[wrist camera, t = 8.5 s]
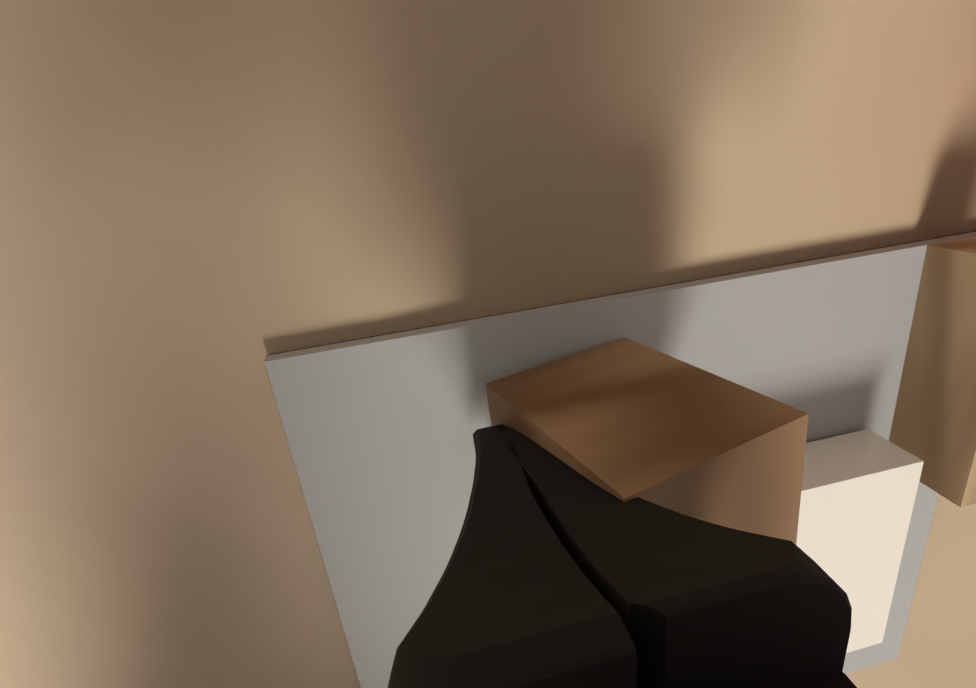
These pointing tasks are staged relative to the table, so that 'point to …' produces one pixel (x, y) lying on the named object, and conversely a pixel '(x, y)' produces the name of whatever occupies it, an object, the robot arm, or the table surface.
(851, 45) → the table surface
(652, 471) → the block
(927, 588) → the table surface
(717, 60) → the table surface
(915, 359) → the rail
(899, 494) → the tile
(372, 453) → the mat
